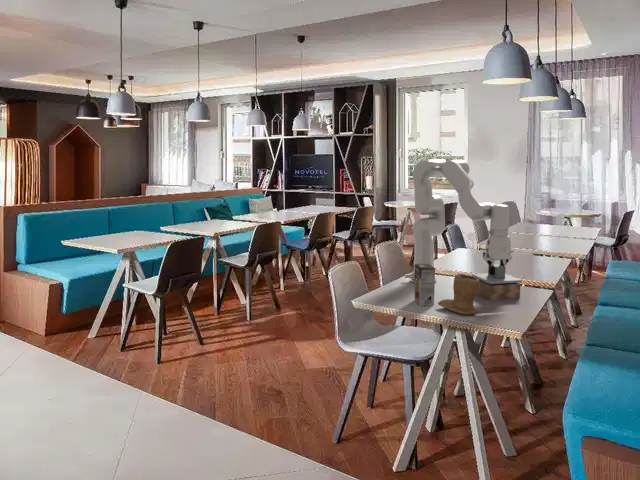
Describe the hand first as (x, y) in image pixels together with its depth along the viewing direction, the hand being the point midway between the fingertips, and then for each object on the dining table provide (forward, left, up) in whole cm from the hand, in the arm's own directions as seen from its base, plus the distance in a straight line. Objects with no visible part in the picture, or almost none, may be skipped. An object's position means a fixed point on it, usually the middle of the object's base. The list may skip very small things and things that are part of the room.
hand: (496, 274), depth 236 cm
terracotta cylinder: (+3, +3, -9) cm, 10 cm away
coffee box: (-35, -1, -10) cm, 36 cm away
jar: (+22, +41, -10) cm, 48 cm away
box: (0, 0, -10) cm, 10 cm away
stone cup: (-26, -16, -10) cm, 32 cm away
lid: (0, 0, -2) cm, 2 cm away
